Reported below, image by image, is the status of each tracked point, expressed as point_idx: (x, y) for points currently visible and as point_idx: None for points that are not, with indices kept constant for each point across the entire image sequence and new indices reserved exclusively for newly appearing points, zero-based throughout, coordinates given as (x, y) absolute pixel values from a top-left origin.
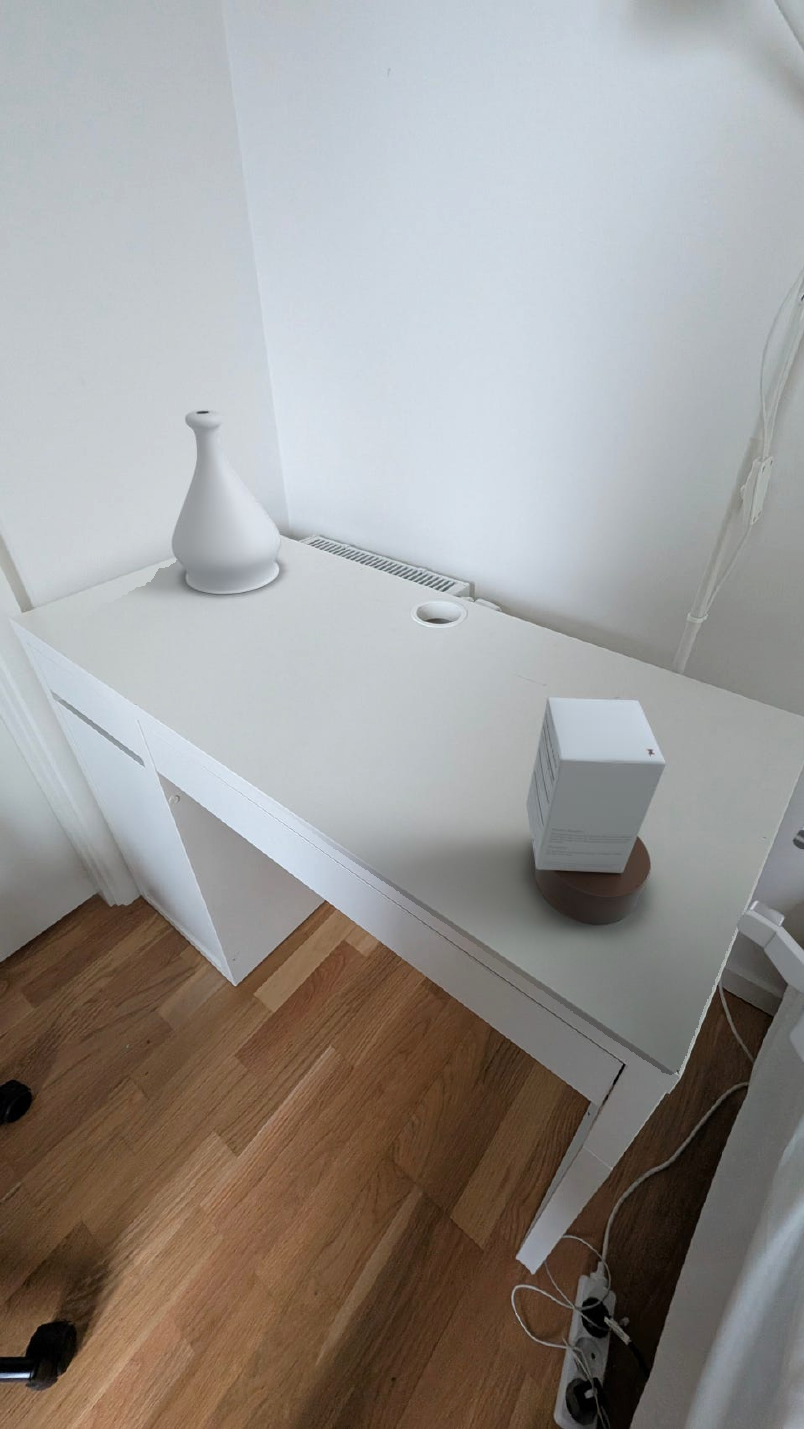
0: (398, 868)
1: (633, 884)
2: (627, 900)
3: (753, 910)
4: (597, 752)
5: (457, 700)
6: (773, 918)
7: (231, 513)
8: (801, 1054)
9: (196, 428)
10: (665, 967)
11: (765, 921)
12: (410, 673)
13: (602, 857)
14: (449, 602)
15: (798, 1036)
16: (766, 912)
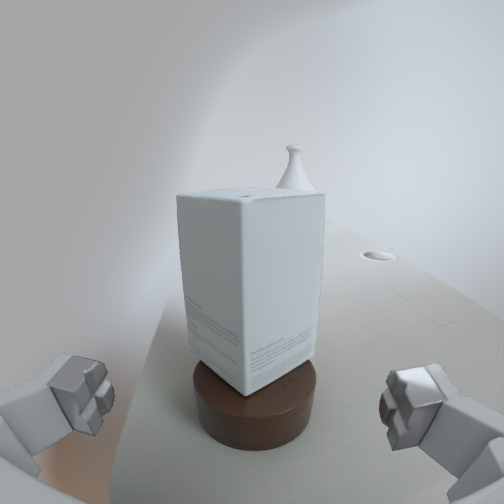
0: (164, 327)
1: (240, 410)
2: (226, 421)
3: (71, 355)
4: (205, 193)
5: (332, 287)
6: (62, 377)
7: (292, 187)
8: None
9: (288, 150)
10: (208, 498)
11: (51, 367)
12: (322, 269)
13: (223, 359)
14: (391, 254)
15: None
16: (73, 369)
